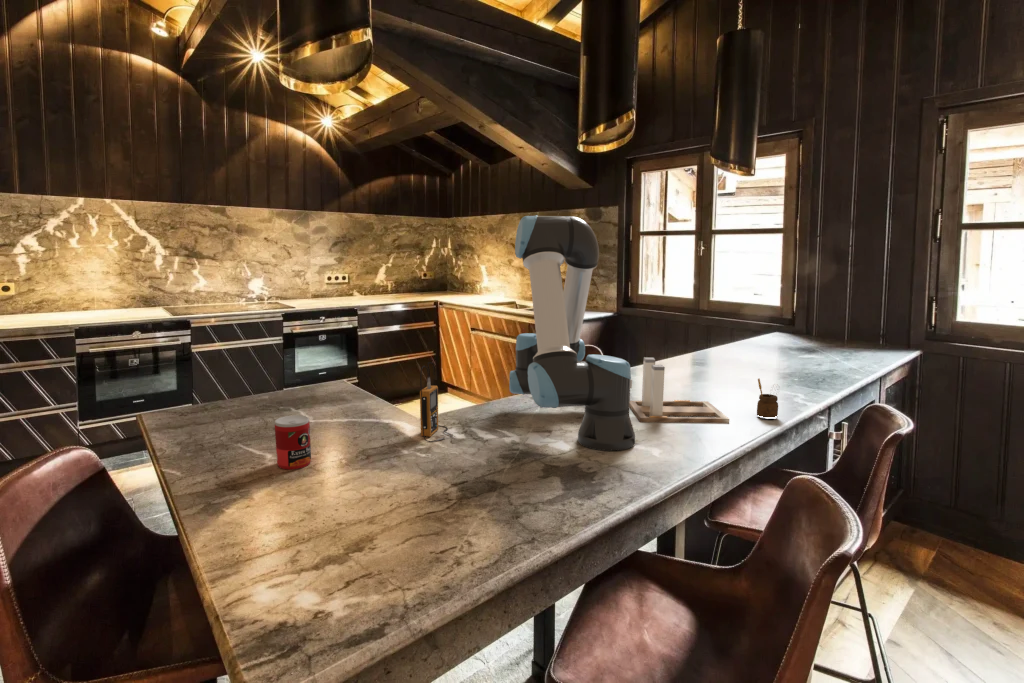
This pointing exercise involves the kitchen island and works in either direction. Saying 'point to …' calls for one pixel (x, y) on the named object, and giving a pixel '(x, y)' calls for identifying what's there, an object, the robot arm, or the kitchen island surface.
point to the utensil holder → (767, 403)
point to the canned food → (293, 442)
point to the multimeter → (429, 409)
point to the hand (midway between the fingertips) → (631, 383)
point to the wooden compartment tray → (680, 412)
